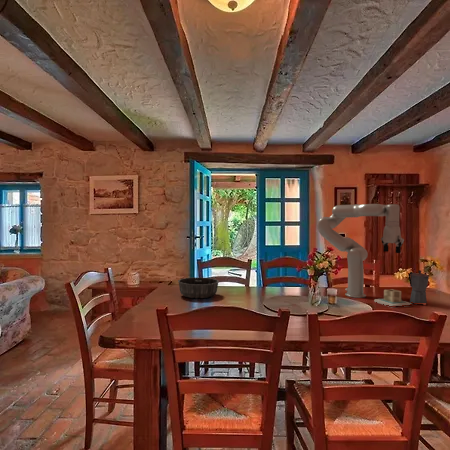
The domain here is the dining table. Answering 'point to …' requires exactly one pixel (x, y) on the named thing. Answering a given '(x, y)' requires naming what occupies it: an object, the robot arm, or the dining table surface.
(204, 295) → the bundt pan
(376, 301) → the post board
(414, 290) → the moka pot
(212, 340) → the dining table surface
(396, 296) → the birch collar
